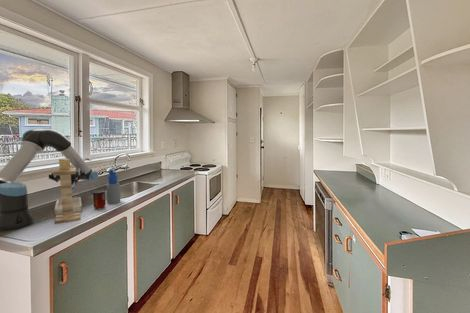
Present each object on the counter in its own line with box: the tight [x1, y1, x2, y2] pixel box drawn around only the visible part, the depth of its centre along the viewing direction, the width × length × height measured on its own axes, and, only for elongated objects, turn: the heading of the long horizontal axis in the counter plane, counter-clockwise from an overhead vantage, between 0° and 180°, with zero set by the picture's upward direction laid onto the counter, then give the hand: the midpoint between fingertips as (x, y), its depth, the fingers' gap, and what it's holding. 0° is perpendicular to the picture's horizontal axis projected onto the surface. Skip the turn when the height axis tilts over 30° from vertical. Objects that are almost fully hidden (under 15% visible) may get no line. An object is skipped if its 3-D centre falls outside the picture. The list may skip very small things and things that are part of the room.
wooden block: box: [58, 158, 72, 170], centre depth 139 cm, size 18×5×6 cm, turn 35°
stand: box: [53, 167, 82, 225], centre depth 135 cm, size 14×12×30 cm
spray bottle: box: [105, 168, 121, 205], centre depth 169 cm, size 9×9×25 cm
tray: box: [53, 196, 83, 217], centre depth 155 cm, size 26×14×4 cm, turn 35°
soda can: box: [92, 189, 107, 210], centre depth 156 cm, size 7×7×12 cm
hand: (66, 170), depth 151 cm, fingers open, 13 cm apart
